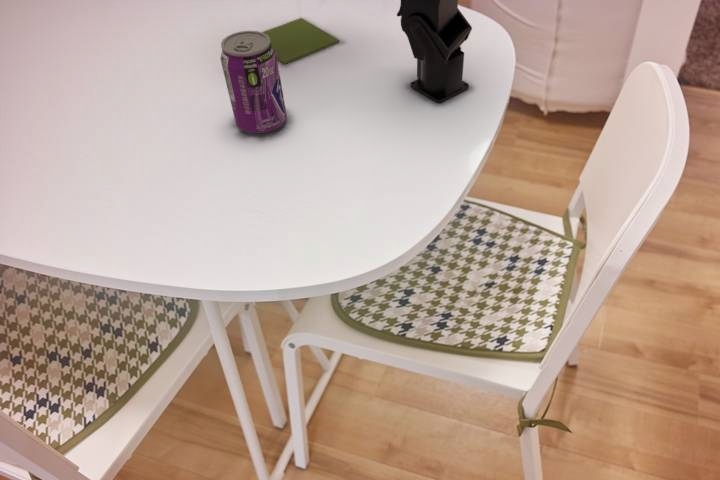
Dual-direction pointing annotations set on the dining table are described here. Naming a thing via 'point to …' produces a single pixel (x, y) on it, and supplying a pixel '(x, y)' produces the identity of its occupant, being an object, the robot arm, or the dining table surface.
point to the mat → (298, 40)
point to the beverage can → (253, 81)
